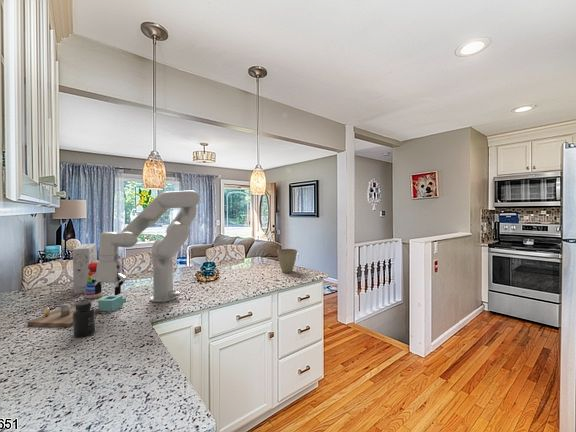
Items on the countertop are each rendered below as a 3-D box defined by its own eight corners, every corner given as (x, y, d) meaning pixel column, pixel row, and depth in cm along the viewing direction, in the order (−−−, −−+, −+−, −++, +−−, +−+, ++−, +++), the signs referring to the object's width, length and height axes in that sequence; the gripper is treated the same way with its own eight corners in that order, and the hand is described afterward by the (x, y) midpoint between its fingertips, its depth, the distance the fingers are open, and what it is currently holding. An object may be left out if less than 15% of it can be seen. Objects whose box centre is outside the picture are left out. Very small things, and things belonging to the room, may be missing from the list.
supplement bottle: (92, 328, 111) (91, 298, 111) (97, 333, 107) (97, 302, 106) (70, 334, 106) (70, 303, 105) (76, 339, 102) (75, 307, 101)
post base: (98, 312, 128) (98, 299, 128) (69, 327, 112) (68, 312, 112) (62, 310, 129) (62, 298, 129) (27, 325, 113) (27, 311, 113)
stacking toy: (93, 299, 145) (92, 264, 144) (80, 298, 146) (79, 263, 146) (106, 294, 152) (105, 261, 152) (94, 294, 154) (93, 260, 153)
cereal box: (90, 292, 158) (89, 248, 157) (73, 293, 154) (72, 249, 153) (97, 282, 177) (96, 243, 176) (82, 283, 174) (81, 244, 173)
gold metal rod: (50, 315, 120) (49, 307, 120) (47, 316, 119) (46, 308, 119) (47, 315, 120) (46, 307, 120) (44, 316, 119) (43, 308, 119)
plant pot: (298, 273, 201) (298, 251, 200) (278, 274, 199) (278, 251, 198) (295, 268, 216) (295, 248, 215) (276, 269, 214) (276, 248, 213)
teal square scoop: (112, 311, 129) (112, 300, 129) (98, 310, 130) (98, 300, 129) (130, 301, 142) (130, 291, 142) (117, 301, 143) (117, 291, 142)
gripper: (131, 257, 135) (130, 292, 135) (97, 255, 136) (96, 290, 136) (120, 260, 127) (119, 297, 128) (85, 258, 129) (84, 295, 129)
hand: (107, 293), depth 132 cm, fingers open, 9 cm apart
